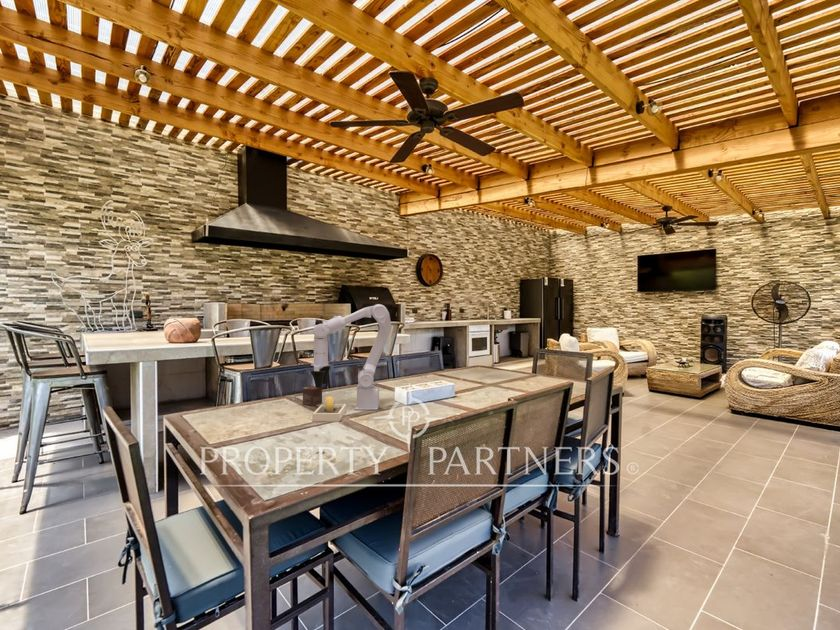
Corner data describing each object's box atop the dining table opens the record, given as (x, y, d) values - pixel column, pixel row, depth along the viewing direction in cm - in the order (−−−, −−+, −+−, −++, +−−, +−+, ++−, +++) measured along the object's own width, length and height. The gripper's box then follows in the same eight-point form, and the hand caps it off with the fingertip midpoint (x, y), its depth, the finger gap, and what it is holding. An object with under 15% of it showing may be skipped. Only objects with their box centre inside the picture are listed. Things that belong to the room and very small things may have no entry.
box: (322, 403, 178) (322, 386, 177) (312, 406, 173) (312, 389, 172) (312, 401, 181) (312, 385, 181) (302, 404, 176) (302, 387, 176)
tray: (346, 411, 165) (346, 404, 165) (339, 421, 151) (339, 413, 151) (321, 411, 165) (321, 404, 165) (312, 421, 151) (312, 413, 151)
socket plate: (342, 412, 162) (342, 407, 162) (338, 418, 154) (338, 412, 154) (322, 412, 162) (322, 407, 162) (317, 417, 154) (317, 412, 154)
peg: (334, 414, 159) (334, 396, 159) (332, 416, 156) (332, 398, 156) (327, 413, 159) (327, 396, 159) (324, 416, 156) (324, 398, 156)
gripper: (315, 350, 174) (315, 382, 175) (306, 355, 160) (306, 389, 160) (332, 350, 174) (332, 382, 175) (324, 355, 160) (324, 389, 160)
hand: (321, 385), depth 167 cm, fingers open, 7 cm apart
